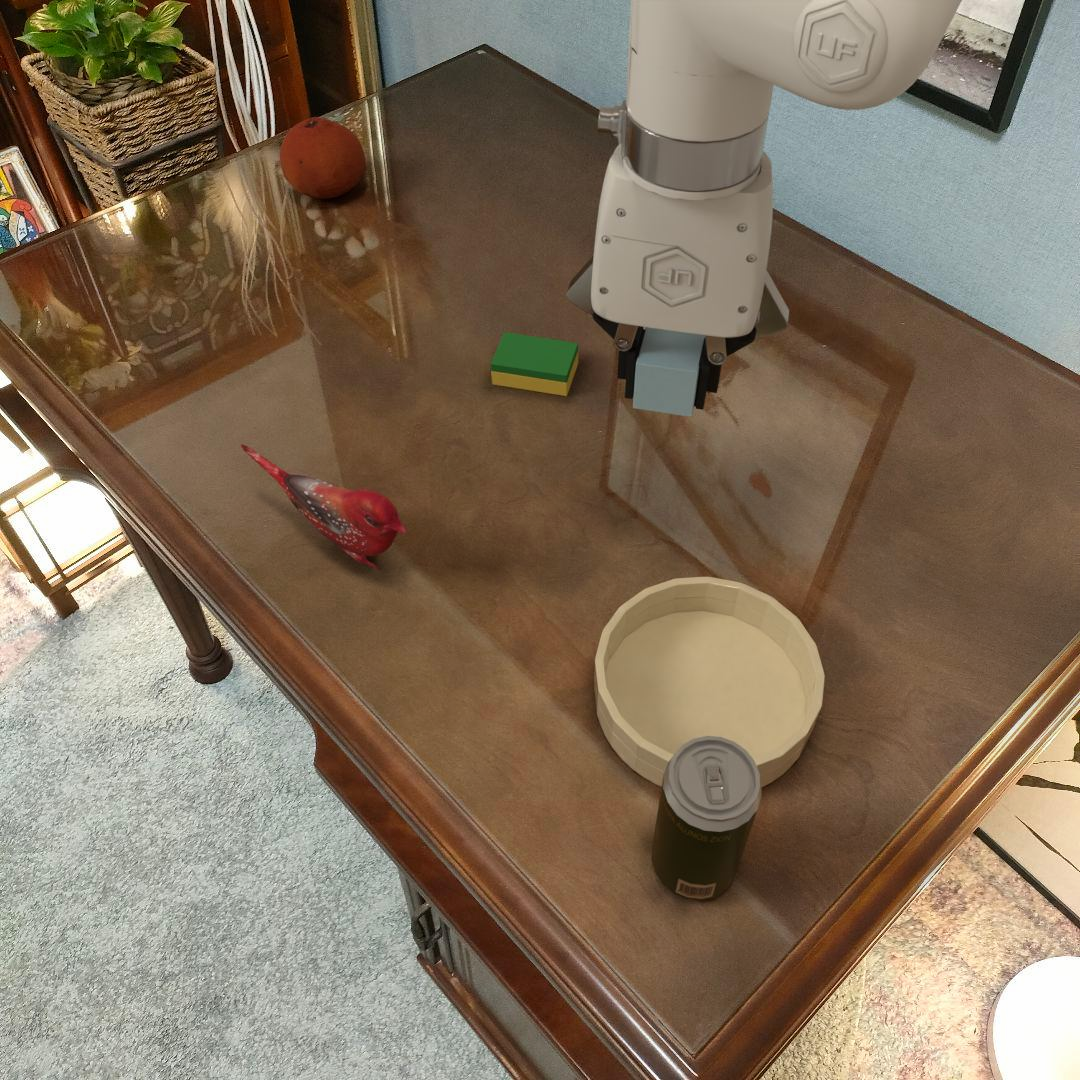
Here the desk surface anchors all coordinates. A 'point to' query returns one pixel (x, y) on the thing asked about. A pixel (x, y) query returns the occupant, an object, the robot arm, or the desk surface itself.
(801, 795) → the desk surface
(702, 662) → the bowl
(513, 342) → the scrubber
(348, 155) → the fruit
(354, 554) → the decorative bird figurine
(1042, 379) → the desk surface
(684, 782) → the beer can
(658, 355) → the ice cube
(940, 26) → the robot arm
